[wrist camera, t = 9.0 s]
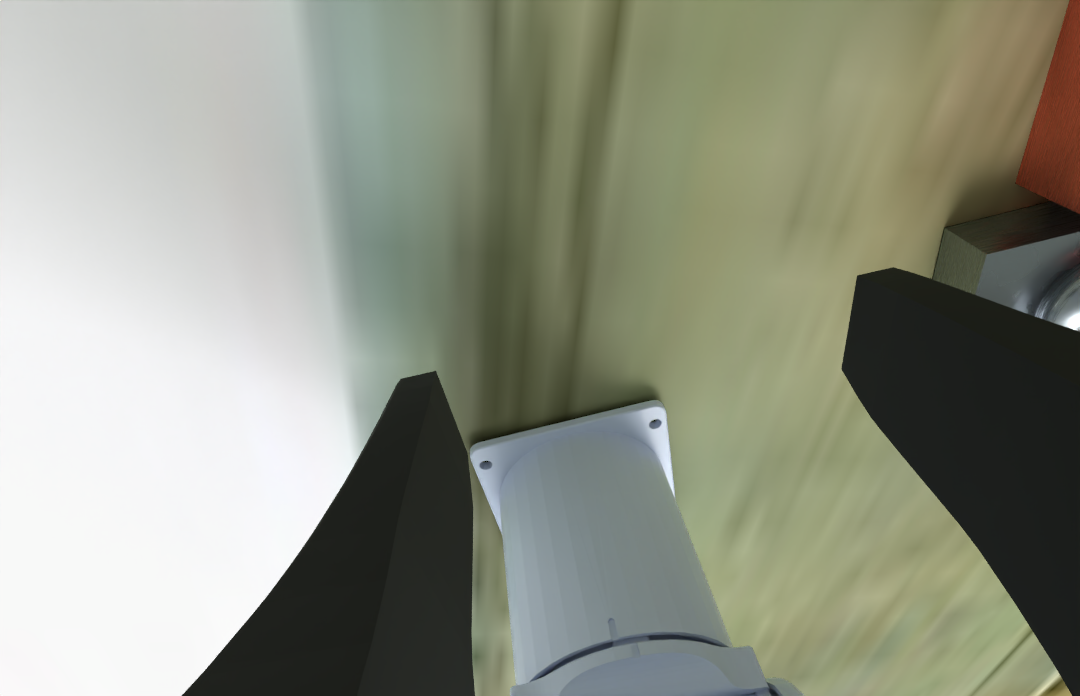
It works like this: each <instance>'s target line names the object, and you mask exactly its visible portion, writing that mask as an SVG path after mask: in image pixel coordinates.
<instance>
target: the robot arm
mask: <svg viewBox="0 0 1080 696" xmlns="http://www.w3.org/2000/svg"><path fill="white" fill-rule="evenodd" d="M842 371H843V372H844V374H845V376H846V378H847V379H848V381H849V383H850V384H851V386H852V388H853V390H854V391H855V393H856V395H857V396H858V398H859V399H860V401H861V403H862V404H863V406H864V407H865V409H866V410H867V412H868V414H869V415H870V417H871V418H872V419H873V420H874V422H875V423H876V424H877V426H878V427H879V428H880V429H881V431H882V432H883V433H884V434H885V435H886V437H887V438H888V439H889V440H890V442H891V443H892V444H893V445H894V446H895V448H896V449H897V450H898V451H899V453H900V454H901V455H902V456H903V457H904V459H905V460H906V461H907V462H908V463H909V465H910V466H911V467H912V468H913V469H914V470H915V472H916V473H917V474H918V475H919V476H920V478H921V479H922V480H923V481H924V482H925V484H926V485H927V486H928V487H929V488H930V490H931V491H932V492H933V493H934V494H935V496H936V497H937V498H938V499H939V500H940V502H941V503H942V504H943V505H944V506H945V508H946V509H947V510H948V511H949V512H950V514H951V515H952V516H953V517H954V518H955V520H956V521H957V522H958V523H959V524H960V526H961V527H962V528H963V530H964V531H965V532H966V534H967V535H968V536H969V537H970V539H971V540H972V541H973V543H974V544H975V545H976V547H977V548H978V549H979V551H980V552H981V554H982V555H983V557H984V558H985V559H986V561H987V562H988V564H989V565H990V567H991V568H992V570H993V571H994V573H995V574H996V576H997V577H998V579H999V580H1000V582H1001V583H1002V585H1003V586H1004V588H1005V589H1006V591H1007V592H1008V593H1009V595H1010V596H1011V598H1012V599H1013V601H1014V602H1015V604H1016V605H1017V607H1018V609H1019V610H1020V612H1021V613H1022V615H1023V616H1024V618H1025V620H1026V621H1027V623H1028V624H1029V626H1030V627H1031V629H1032V631H1033V632H1034V634H1035V635H1036V637H1037V638H1038V640H1039V642H1040V643H1041V645H1042V646H1043V648H1044V650H1045V651H1046V653H1047V654H1048V656H1049V657H1050V659H1051V661H1052V662H1053V664H1054V665H1055V667H1056V669H1057V670H1058V672H1059V674H1060V675H1061V677H1062V679H1063V681H1064V682H1065V684H1066V686H1067V687H1068V689H1069V691H1070V692H1071V694H1072V696H1080V332H1079V331H1076V330H1073V329H1070V328H1067V327H1064V326H1062V325H1059V324H1056V323H1053V322H1050V321H1047V320H1044V319H1041V318H1038V317H1035V316H1033V315H1030V314H1027V313H1024V312H1021V311H1018V310H1016V309H1013V308H1010V307H1007V306H1005V305H1002V304H999V303H996V302H993V301H991V300H988V299H985V298H982V297H980V296H977V295H974V294H971V293H969V292H966V291H963V290H960V289H958V288H955V287H952V286H949V285H947V284H944V283H941V282H938V281H935V280H932V279H929V278H926V277H923V276H920V275H917V274H914V273H911V272H908V271H904V270H901V269H897V268H889V269H884V270H880V271H875V272H871V273H867V274H862V275H858V276H857V280H856V286H855V292H854V298H853V304H852V310H851V316H850V322H849V328H848V334H847V340H846V345H845V351H844V357H843V363H842ZM655 419H657V420H656V421H654V422H651V421H652V420H655ZM470 459H471V462H472V464H473V466H474V469H475V471H476V473H477V476H478V478H479V481H480V483H481V485H482V488H483V490H484V493H485V495H486V497H487V500H488V502H489V505H490V507H491V509H492V512H493V514H494V516H495V519H496V521H497V524H498V526H499V528H500V531H501V533H502V536H503V547H504V558H505V569H506V580H507V591H508V602H509V613H510V624H511V635H512V646H513V657H514V668H515V679H516V686H512V687H511V688H510V696H804V694H803V693H802V692H801V691H800V690H798V689H797V688H796V687H795V686H794V685H793V684H792V683H790V682H788V681H787V680H785V679H782V678H776V677H773V678H767V679H765V677H764V675H763V672H762V670H761V668H760V665H759V663H758V660H757V658H756V656H755V653H754V651H753V648H752V647H750V646H743V647H733V646H732V643H731V641H730V638H729V636H728V633H727V630H726V628H725V625H724V623H723V620H722V618H721V615H720V612H719V610H718V607H717V605H716V602H715V600H714V597H713V595H712V592H711V589H710V587H709V584H708V582H707V579H706V577H705V574H704V572H703V569H702V566H701V564H700V561H699V559H698V556H697V554H696V551H695V548H694V546H693V543H692V541H691V538H690V536H689V533H688V531H687V528H686V525H685V523H684V520H683V518H682V515H681V513H680V510H679V507H678V505H677V502H676V499H675V490H674V481H673V471H672V462H671V452H670V443H669V434H668V424H667V415H666V410H665V408H664V405H663V403H662V402H660V401H657V400H651V401H646V402H642V403H638V404H634V405H630V406H626V407H622V408H618V409H614V410H610V411H605V412H601V413H597V414H593V415H589V416H585V417H581V418H577V419H573V420H569V421H564V422H560V423H556V424H552V425H548V426H544V427H540V428H536V429H532V430H527V431H523V432H519V433H515V434H511V435H507V436H503V437H499V438H495V439H491V440H486V441H482V442H479V443H476V444H474V445H473V446H472V447H471V449H470ZM483 461H489V462H483ZM472 560H473V501H472V491H471V481H470V473H469V464H468V455H467V451H466V449H465V446H464V443H463V441H462V438H461V435H460V433H459V430H458V428H457V425H456V422H455V420H454V417H453V414H452V412H451V409H450V407H449V404H448V401H447V399H446V396H445V393H444V391H443V388H442V385H441V383H440V380H439V378H438V375H437V372H436V371H434V372H429V373H425V374H420V375H416V376H412V377H407V378H403V379H400V381H399V382H398V384H397V385H396V387H395V389H394V391H393V393H392V395H391V397H390V399H389V401H388V403H387V405H386V407H385V409H384V411H383V413H382V415H381V417H380V419H379V421H378V423H377V424H376V426H375V428H374V430H373V432H372V434H371V436H370V438H369V440H368V441H367V443H366V445H365V447H364V449H363V450H362V452H361V454H360V456H359V458H358V459H357V461H356V463H355V465H354V467H353V468H352V470H351V472H350V474H349V475H348V477H347V479H346V481H345V482H344V484H343V486H342V487H341V489H340V491H339V492H338V494H337V495H336V497H335V499H334V500H333V502H332V503H331V505H330V507H329V508H328V510H327V511H326V513H325V514H324V516H323V518H322V519H321V521H320V522H319V524H318V526H317V527H316V529H315V530H314V532H313V533H312V535H311V536H310V538H309V539H308V541H307V542H306V544H305V545H304V547H303V548H302V549H301V551H300V552H299V554H298V555H297V557H296V558H295V559H294V561H293V562H292V564H291V565H290V566H289V568H288V569H287V570H286V572H285V573H284V574H283V576H282V577H281V579H280V580H279V581H278V583H277V584H276V585H275V587H274V588H273V589H272V591H271V592H270V593H269V595H268V596H267V597H266V598H265V600H264V601H263V602H262V603H261V605H260V606H259V607H258V608H257V610H256V611H255V612H254V613H253V614H252V616H251V617H250V618H249V619H248V620H247V621H246V623H245V624H244V625H243V626H242V627H241V629H240V630H239V631H238V632H237V633H236V634H235V636H234V637H233V638H232V639H231V640H230V642H229V643H228V644H227V645H226V646H225V647H224V649H223V650H222V651H221V652H220V653H219V655H218V656H217V657H216V658H215V659H214V660H213V662H212V663H211V664H210V665H209V666H208V668H207V669H206V670H205V671H204V672H203V673H202V674H201V675H200V676H199V678H198V679H197V680H196V681H195V682H194V683H193V684H192V685H191V686H190V687H189V688H188V690H187V691H186V692H185V693H184V694H183V695H182V696H475V691H474V679H473V666H472V637H471V625H472Z"/></svg>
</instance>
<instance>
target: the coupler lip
mask: <svg viewBox="0 0 1080 696" xmlns="http://www.w3.org/2000/svg"><path fill="white" fill-rule="evenodd" d="M933 280H935V281H938V282H941V283H944V284H947V285H949V286H952V287H955V288H958V289H960V290H963V291H966V292H969V293H971V294H974V295H977V296H980V297H982V298H985V299H988V300H991V301H993V302H996V303H999V304H1002V305H1005V306H1007V307H1010V308H1013V309H1016V310H1018V311H1021V312H1024V313H1027V314H1030V315H1033V316H1035V317H1038V318H1041V319H1044V320H1047V321H1050V322H1053V323H1056V324H1059V325H1062V326H1064V327H1067V328H1070V329H1073V330H1076V331H1079V332H1080V214H1078V213H1076V212H1074V211H1072V210H1070V209H1068V208H1066V207H1064V206H1062V205H1059V204H1057V203H1055V202H1053V201H1051V202H1047V203H1043V204H1039V205H1035V206H1031V207H1027V208H1023V209H1019V210H1015V211H1011V212H1007V213H1003V214H999V215H995V216H991V217H987V218H983V219H979V220H975V221H971V222H967V223H963V224H959V225H955V226H951V227H947V228H945V229H944V233H943V238H942V242H941V246H940V250H939V255H938V259H937V263H936V268H935V272H934V276H933Z"/></svg>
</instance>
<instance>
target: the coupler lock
mask: <svg viewBox="0 0 1080 696" xmlns="http://www.w3.org/2000/svg"><path fill="white" fill-rule="evenodd" d="M1015 184H1017V185H1020V186H1022V187H1024V188H1026V189H1028V190H1030V191H1032V192H1034V193H1036V194H1038V195H1041V196H1043V197H1045V198H1047V199H1049V200H1051V201H1053V202H1055V203H1057V204H1059V205H1062V206H1064V207H1066V208H1068V209H1070V210H1072V211H1074V212H1076V213H1078V214H1080V0H1070V1H1069V4H1068V8H1067V11H1066V15H1065V18H1064V21H1063V25H1062V28H1061V31H1060V35H1059V38H1058V41H1057V45H1056V48H1055V51H1054V55H1053V58H1052V62H1051V65H1050V68H1049V72H1048V75H1047V78H1046V82H1045V85H1044V88H1043V92H1042V95H1041V99H1040V102H1039V105H1038V109H1037V112H1036V115H1035V119H1034V122H1033V125H1032V129H1031V132H1030V135H1029V139H1028V142H1027V146H1026V149H1025V152H1024V156H1023V159H1022V162H1021V166H1020V169H1019V172H1018V176H1017V179H1016V183H1015Z"/></svg>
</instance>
